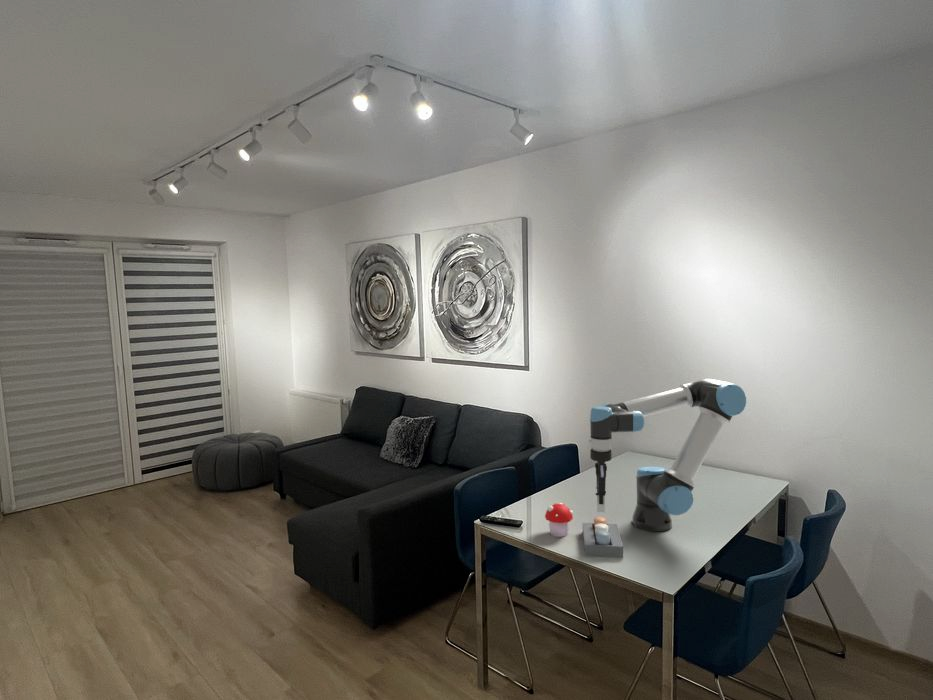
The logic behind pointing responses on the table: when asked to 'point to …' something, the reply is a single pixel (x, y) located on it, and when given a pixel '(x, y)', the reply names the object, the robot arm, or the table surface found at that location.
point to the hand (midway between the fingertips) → (600, 511)
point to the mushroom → (558, 519)
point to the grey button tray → (602, 550)
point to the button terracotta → (599, 521)
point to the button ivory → (600, 528)
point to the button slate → (602, 538)
